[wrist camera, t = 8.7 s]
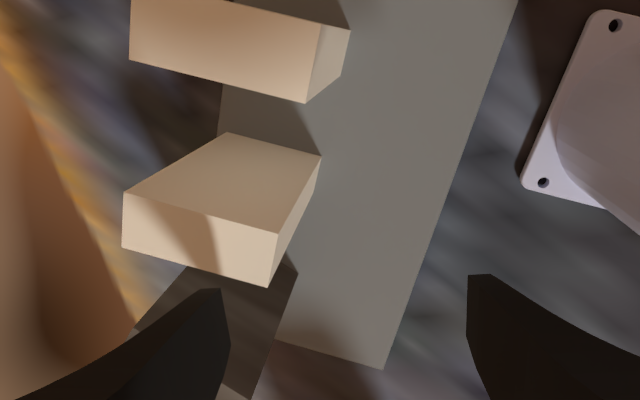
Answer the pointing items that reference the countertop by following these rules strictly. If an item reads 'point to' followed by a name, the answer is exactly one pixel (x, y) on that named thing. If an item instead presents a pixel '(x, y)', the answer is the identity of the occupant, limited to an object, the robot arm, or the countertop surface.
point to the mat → (373, 157)
